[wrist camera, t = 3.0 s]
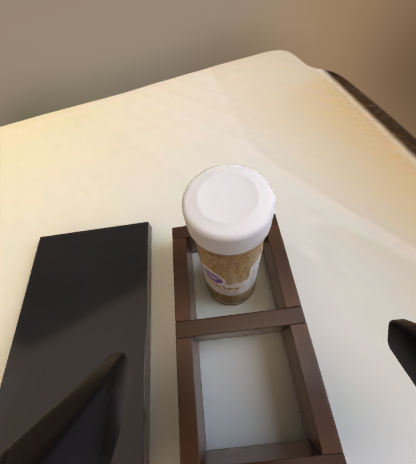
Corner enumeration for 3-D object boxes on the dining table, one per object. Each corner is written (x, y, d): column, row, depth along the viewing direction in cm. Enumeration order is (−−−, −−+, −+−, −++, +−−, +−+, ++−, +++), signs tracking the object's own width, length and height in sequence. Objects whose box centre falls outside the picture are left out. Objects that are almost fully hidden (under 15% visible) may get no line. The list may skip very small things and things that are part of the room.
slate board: (148, 467, 17) (143, 474, 16) (-13, 484, 18) (-29, 492, 17) (151, 227, 27) (148, 221, 26) (47, 241, 28) (40, 236, 27)
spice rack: (330, 460, 17) (351, 481, 14) (191, 474, 17) (181, 497, 14) (270, 231, 26) (275, 213, 22) (179, 244, 26) (171, 227, 23)
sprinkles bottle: (199, 295, 23) (162, 220, 11) (218, 253, 25) (203, 152, 13) (246, 314, 22) (258, 252, 10) (262, 269, 24) (288, 172, 12)
